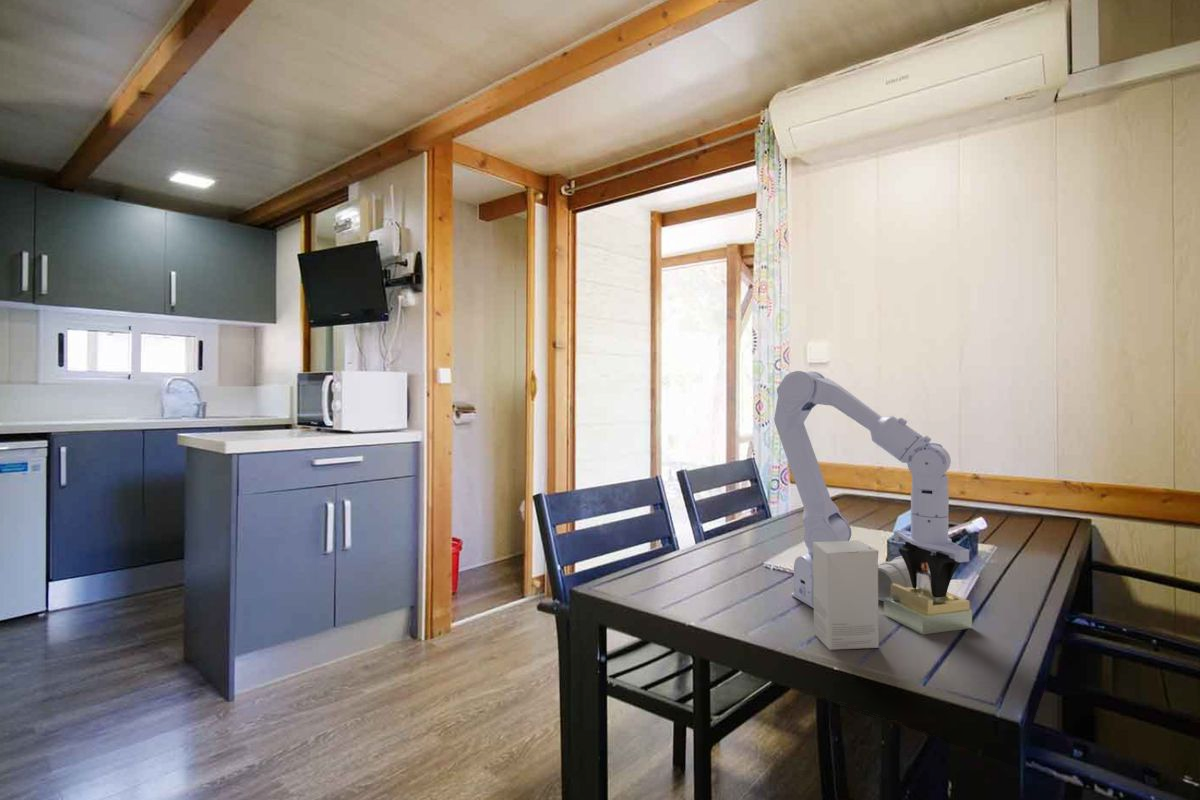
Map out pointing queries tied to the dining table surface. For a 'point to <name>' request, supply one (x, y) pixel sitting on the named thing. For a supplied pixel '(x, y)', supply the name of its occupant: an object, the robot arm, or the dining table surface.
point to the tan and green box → (927, 611)
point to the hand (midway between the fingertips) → (928, 592)
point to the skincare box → (846, 594)
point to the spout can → (925, 582)
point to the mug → (892, 576)
